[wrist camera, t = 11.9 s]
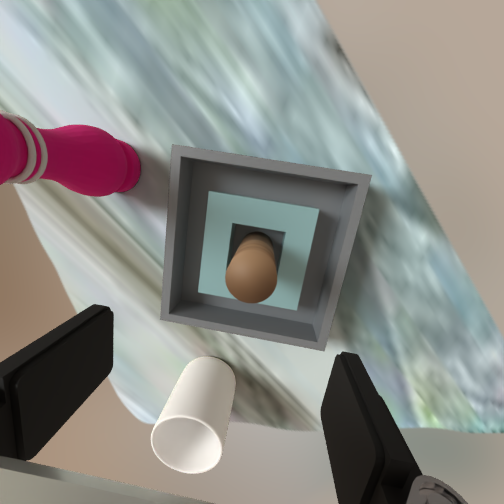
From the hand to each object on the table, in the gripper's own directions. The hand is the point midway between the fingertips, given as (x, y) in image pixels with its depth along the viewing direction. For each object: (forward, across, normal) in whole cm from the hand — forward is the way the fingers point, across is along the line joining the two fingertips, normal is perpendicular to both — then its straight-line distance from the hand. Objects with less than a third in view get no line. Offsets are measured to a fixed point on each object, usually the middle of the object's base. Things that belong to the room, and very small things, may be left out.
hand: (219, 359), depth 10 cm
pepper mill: (+22, +19, -7) cm, 30 cm away
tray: (+22, 0, 0) cm, 22 cm away
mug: (+22, +5, +23) cm, 32 cm away
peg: (+21, 0, 0) cm, 21 cm away
